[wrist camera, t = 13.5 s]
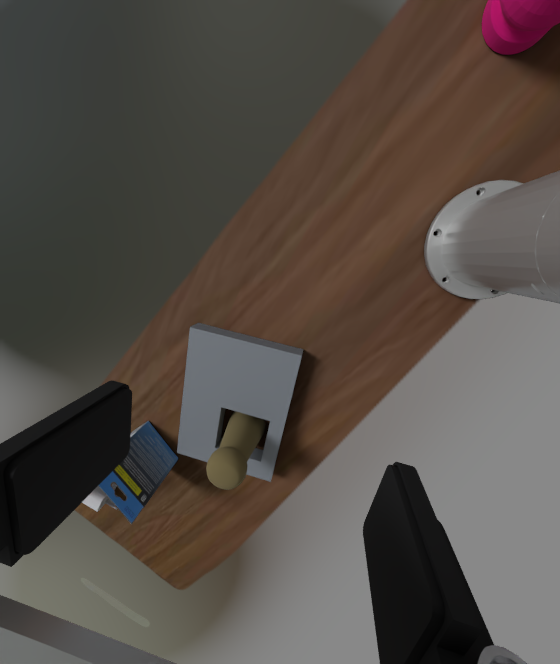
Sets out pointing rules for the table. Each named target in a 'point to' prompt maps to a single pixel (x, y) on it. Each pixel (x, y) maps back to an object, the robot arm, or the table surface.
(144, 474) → the blue and white box
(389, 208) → the table surface
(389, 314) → the table surface
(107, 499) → the usb wall charger
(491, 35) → the pepper mill
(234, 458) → the cork
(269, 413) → the socket board
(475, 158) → the table surface
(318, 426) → the table surface
